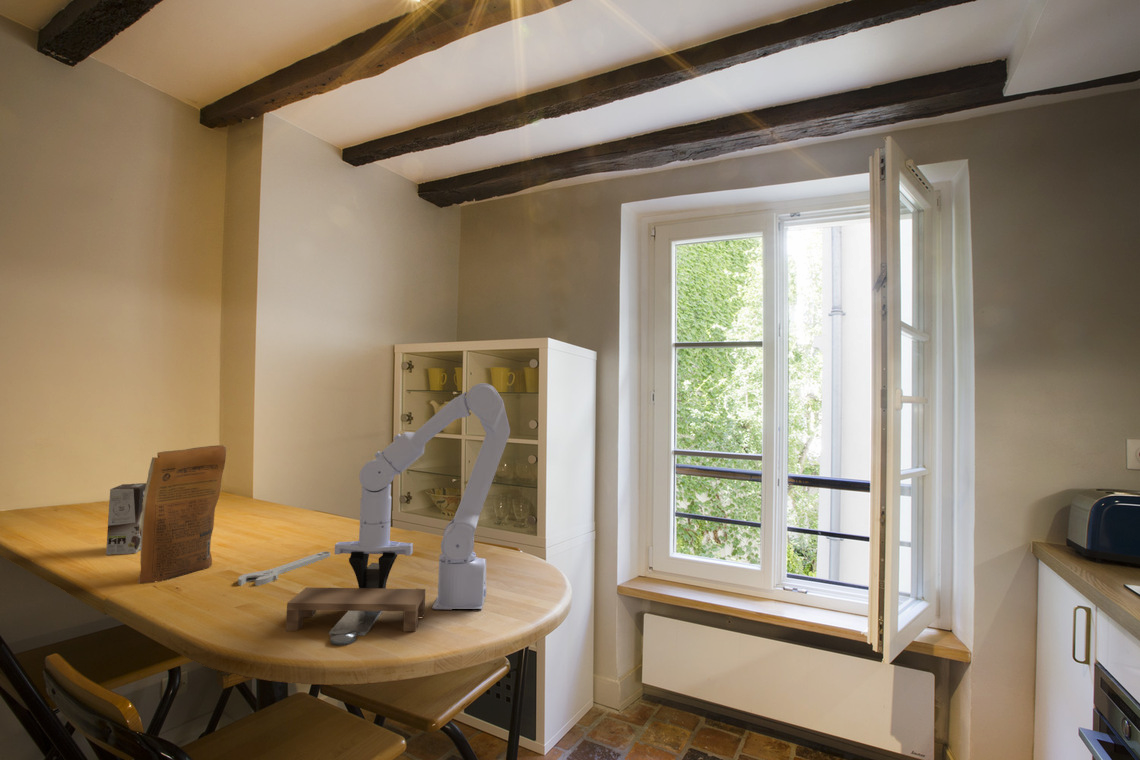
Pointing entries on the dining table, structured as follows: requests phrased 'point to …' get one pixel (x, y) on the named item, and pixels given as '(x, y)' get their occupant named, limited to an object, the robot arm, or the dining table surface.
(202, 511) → the pancake mix bag
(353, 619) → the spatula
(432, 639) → the dining table surface
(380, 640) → the dining table surface
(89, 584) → the dining table surface
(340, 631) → the steel disc
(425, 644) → the dining table surface
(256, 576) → the adjustable wrench
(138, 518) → the coffee box
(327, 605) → the walnut shelf
